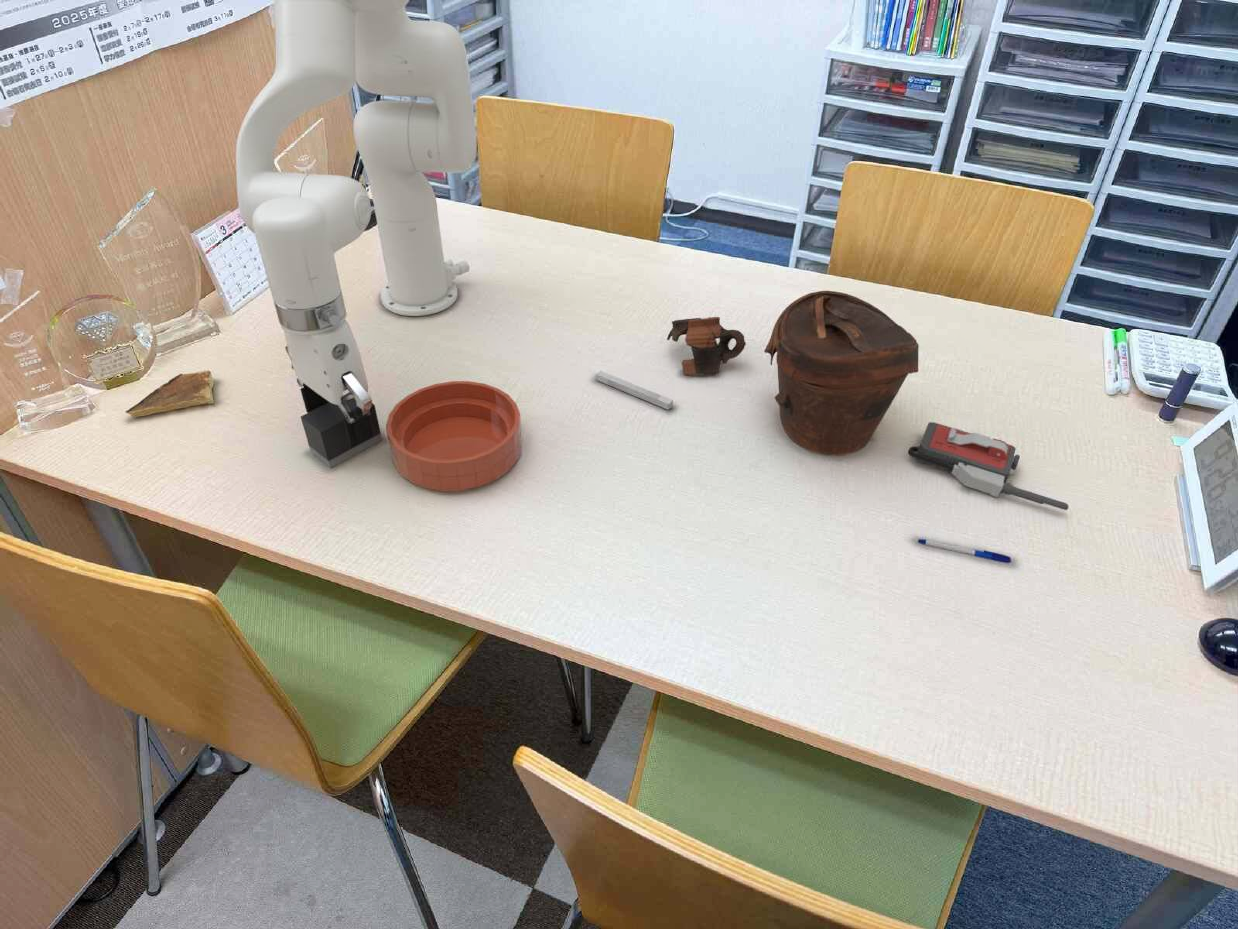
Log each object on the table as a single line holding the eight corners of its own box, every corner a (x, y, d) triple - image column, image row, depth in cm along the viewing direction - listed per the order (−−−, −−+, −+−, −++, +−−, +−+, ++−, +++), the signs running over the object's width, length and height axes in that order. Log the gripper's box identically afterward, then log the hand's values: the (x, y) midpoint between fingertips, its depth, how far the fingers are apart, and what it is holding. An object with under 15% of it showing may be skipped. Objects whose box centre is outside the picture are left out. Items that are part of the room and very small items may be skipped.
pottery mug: (663, 377, 124) (659, 322, 122) (679, 370, 132) (675, 319, 131) (742, 373, 119) (739, 316, 118) (754, 366, 128) (751, 313, 127)
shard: (129, 420, 112) (124, 410, 111) (133, 389, 118) (128, 379, 116) (214, 405, 115) (210, 395, 114) (214, 375, 121) (210, 365, 119)
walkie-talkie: (901, 469, 108) (1063, 521, 102) (909, 443, 105) (1077, 495, 99) (915, 432, 114) (1069, 479, 108) (924, 407, 111) (1083, 453, 105)
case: (787, 371, 125) (808, 263, 113) (915, 420, 116) (951, 309, 104) (729, 430, 114) (745, 317, 102) (865, 489, 105) (900, 373, 93)
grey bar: (596, 379, 122) (596, 374, 121) (600, 376, 122) (600, 370, 122) (668, 409, 117) (668, 404, 116) (672, 405, 117) (673, 400, 117)
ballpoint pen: (1009, 559, 97) (1012, 553, 96) (1010, 564, 96) (1012, 559, 96) (917, 541, 99) (919, 535, 98) (917, 546, 98) (919, 540, 98)
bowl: (466, 398, 118) (463, 366, 114) (548, 451, 109) (546, 418, 106) (367, 452, 108) (359, 420, 105) (448, 515, 100) (442, 481, 96)
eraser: (362, 425, 113) (354, 389, 109) (382, 440, 110) (374, 404, 106) (310, 452, 108) (300, 416, 104) (330, 468, 106) (320, 432, 102)
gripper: (382, 323, 93) (404, 441, 104) (299, 272, 102) (328, 386, 113) (323, 348, 89) (353, 468, 100) (242, 293, 97) (278, 409, 109)
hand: (339, 425), depth 106 cm, fingers open, 9 cm apart
